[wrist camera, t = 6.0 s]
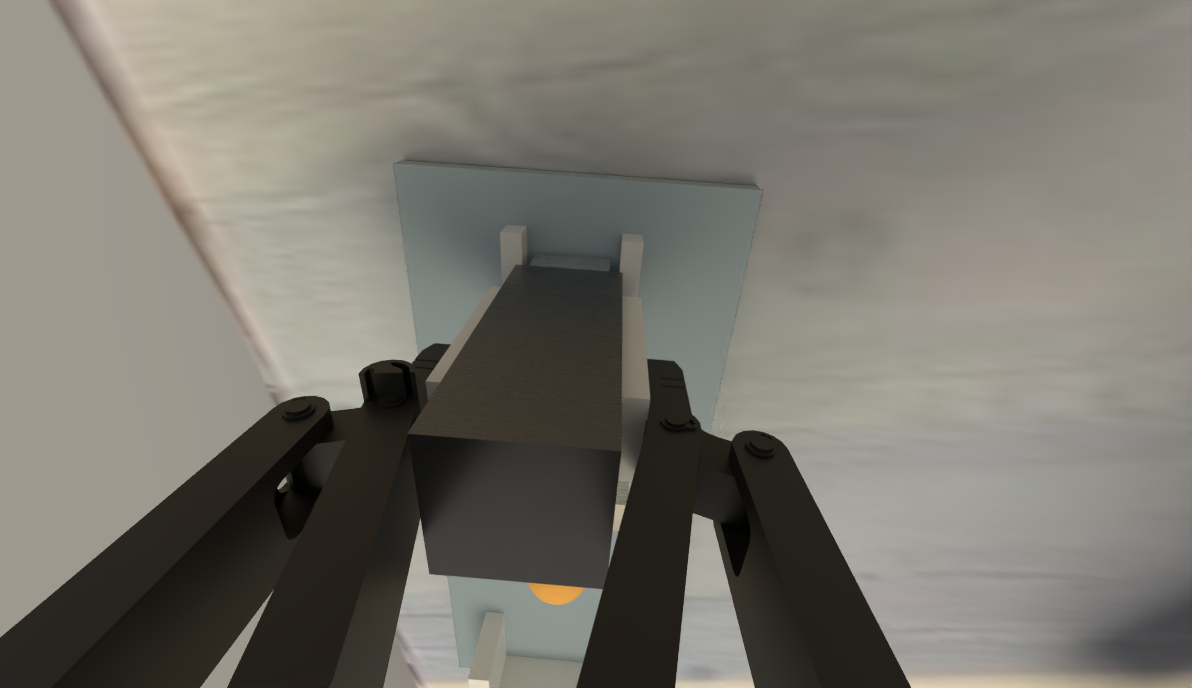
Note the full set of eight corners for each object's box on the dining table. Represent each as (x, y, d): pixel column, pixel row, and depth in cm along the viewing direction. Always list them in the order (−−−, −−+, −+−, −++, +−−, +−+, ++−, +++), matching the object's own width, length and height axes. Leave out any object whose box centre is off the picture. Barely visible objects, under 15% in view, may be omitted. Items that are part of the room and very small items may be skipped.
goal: (486, 611, 31) (468, 678, 27) (632, 624, 30) (633, 694, 27) (490, 665, 34) (474, 733, 30) (623, 678, 33) (623, 747, 30)
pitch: (404, 160, 19) (378, 167, 17) (756, 185, 19) (771, 196, 17) (463, 652, 35) (454, 685, 33) (653, 669, 34) (655, 704, 32)
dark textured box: (498, 250, 19) (353, 429, 9) (647, 262, 19) (675, 455, 9) (505, 445, 24) (416, 708, 13) (625, 455, 24) (625, 728, 13)
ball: (563, 510, 26) (555, 566, 23) (604, 544, 27) (602, 602, 24) (519, 537, 27) (505, 594, 24) (560, 569, 28) (553, 627, 25)
